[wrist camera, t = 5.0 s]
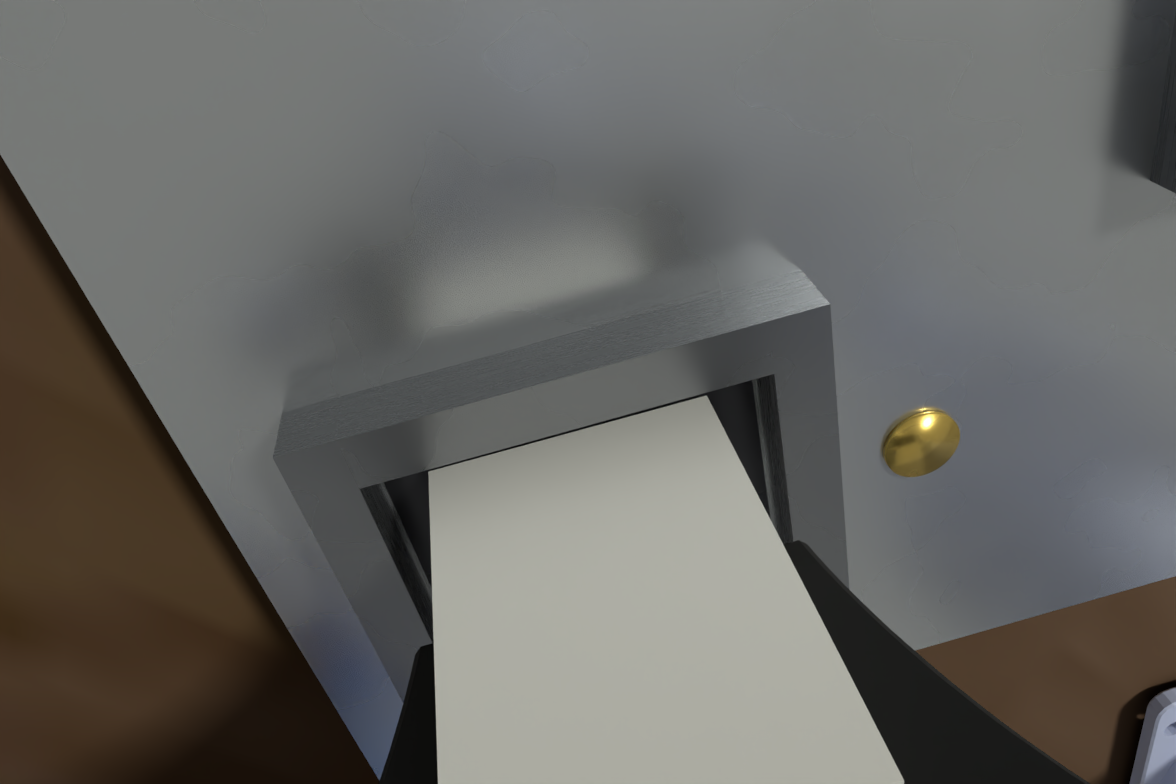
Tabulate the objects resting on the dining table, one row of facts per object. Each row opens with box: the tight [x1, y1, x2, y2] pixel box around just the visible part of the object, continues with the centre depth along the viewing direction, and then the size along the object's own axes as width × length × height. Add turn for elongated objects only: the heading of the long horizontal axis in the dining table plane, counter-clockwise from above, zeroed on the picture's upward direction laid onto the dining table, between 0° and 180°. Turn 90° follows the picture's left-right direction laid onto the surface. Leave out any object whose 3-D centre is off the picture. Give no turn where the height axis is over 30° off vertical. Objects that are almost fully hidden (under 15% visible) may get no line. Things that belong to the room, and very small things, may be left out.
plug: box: [428, 395, 904, 784], centre depth 11 cm, size 4×4×7 cm
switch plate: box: [0, 0, 1176, 781], centre depth 12 cm, size 16×22×2 cm
